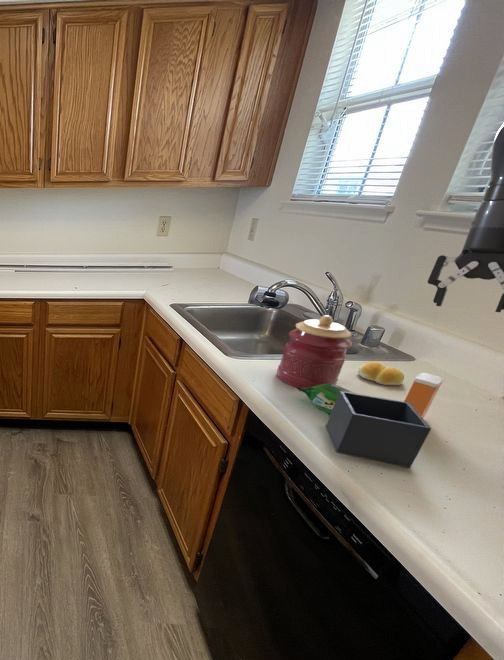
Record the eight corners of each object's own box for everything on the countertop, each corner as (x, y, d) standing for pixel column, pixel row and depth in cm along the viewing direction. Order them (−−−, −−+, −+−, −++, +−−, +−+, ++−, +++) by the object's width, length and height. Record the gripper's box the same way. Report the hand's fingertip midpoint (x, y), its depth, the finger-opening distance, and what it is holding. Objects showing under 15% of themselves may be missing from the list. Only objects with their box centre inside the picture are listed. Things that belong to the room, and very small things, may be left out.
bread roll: (394, 389, 104) (401, 375, 102) (352, 376, 111) (358, 362, 109) (407, 381, 108) (414, 367, 106) (366, 369, 115) (372, 356, 113)
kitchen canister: (298, 367, 116) (319, 305, 108) (347, 387, 105) (374, 320, 97) (264, 374, 112) (283, 310, 104) (311, 395, 101) (336, 326, 93)
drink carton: (423, 418, 92) (444, 378, 87) (416, 425, 89) (438, 384, 85) (402, 411, 94) (422, 372, 90) (395, 418, 92) (415, 377, 87)
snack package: (314, 394, 102) (321, 375, 99) (386, 427, 88) (396, 405, 86) (293, 399, 99) (300, 380, 97) (364, 434, 86) (374, 412, 84)
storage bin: (391, 439, 84) (409, 402, 81) (410, 468, 76) (431, 428, 72) (325, 426, 89) (339, 390, 85) (336, 452, 80) (353, 414, 77)
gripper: (556, 227, 78) (520, 312, 83) (450, 226, 89) (423, 302, 94) (557, 225, 74) (518, 316, 79) (445, 225, 84) (417, 305, 89)
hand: (467, 308), depth 86 cm, fingers open, 8 cm apart
